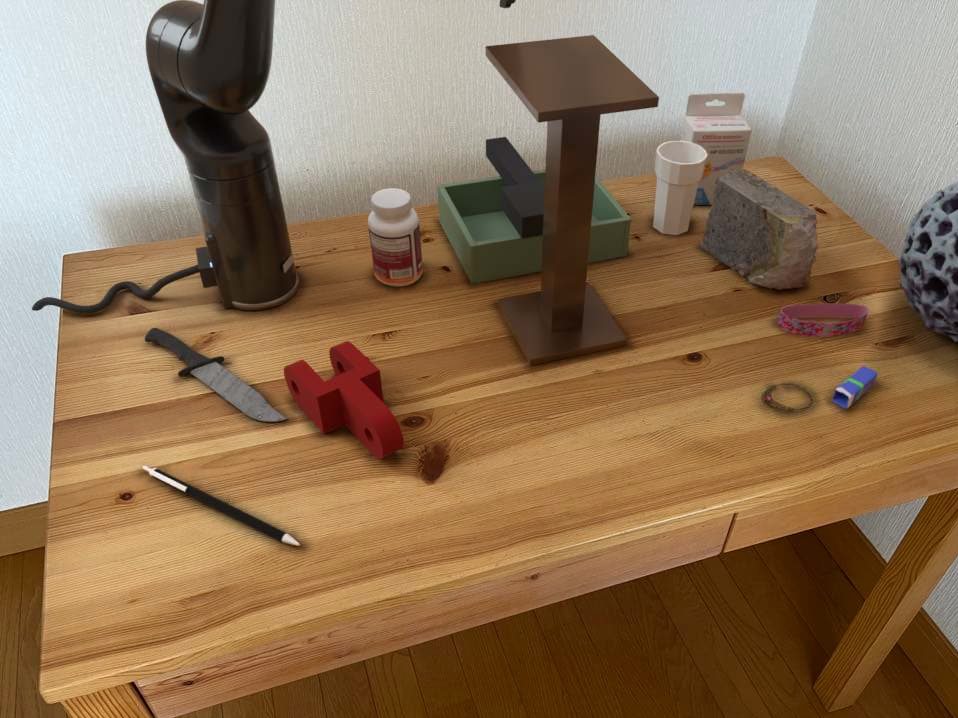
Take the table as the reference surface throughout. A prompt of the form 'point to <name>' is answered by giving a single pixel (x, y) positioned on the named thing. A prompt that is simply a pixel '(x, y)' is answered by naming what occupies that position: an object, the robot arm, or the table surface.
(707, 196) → the ink box
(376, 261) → the pill bottle
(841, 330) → the headband
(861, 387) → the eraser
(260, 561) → the table surface
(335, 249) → the table surface
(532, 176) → the bar
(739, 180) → the geological specimen
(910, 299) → the decorative object
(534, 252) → the bin
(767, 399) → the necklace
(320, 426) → the mechanical linkage
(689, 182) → the cup
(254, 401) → the knife
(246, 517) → the pen
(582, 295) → the shelf stand
